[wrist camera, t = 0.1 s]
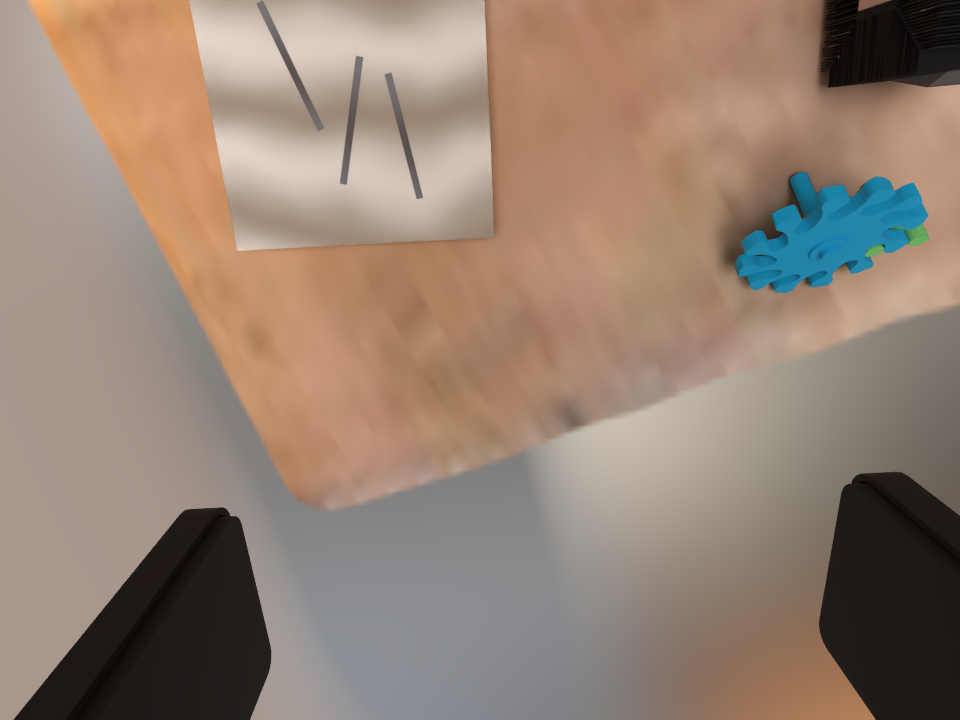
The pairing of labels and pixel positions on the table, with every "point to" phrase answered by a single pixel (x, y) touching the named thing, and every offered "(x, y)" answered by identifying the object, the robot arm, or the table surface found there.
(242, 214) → the board
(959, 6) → the cpu cooler
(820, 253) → the gear
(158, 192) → the table surface
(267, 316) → the table surface
